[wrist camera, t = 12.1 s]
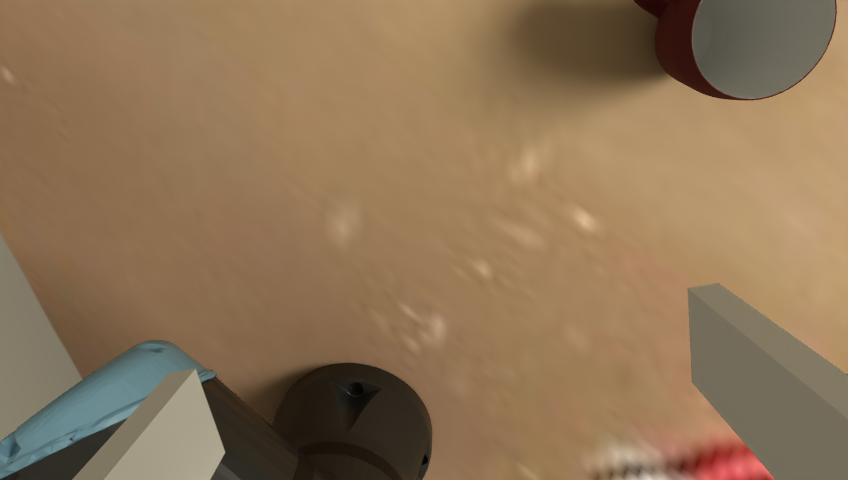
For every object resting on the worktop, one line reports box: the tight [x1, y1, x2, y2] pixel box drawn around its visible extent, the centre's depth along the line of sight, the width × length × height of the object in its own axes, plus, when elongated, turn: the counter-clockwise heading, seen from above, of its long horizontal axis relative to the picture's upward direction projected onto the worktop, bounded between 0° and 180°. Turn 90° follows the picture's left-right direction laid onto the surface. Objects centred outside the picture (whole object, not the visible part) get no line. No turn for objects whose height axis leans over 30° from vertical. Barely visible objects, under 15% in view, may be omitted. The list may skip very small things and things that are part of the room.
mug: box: [634, 0, 837, 100], centre depth 34 cm, size 10×8×10 cm
